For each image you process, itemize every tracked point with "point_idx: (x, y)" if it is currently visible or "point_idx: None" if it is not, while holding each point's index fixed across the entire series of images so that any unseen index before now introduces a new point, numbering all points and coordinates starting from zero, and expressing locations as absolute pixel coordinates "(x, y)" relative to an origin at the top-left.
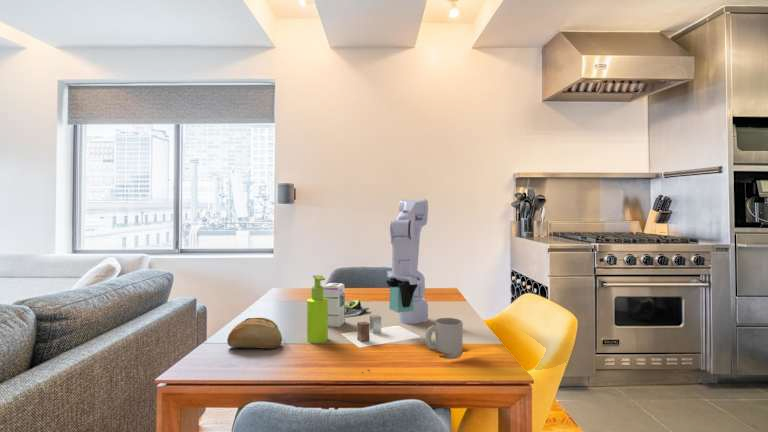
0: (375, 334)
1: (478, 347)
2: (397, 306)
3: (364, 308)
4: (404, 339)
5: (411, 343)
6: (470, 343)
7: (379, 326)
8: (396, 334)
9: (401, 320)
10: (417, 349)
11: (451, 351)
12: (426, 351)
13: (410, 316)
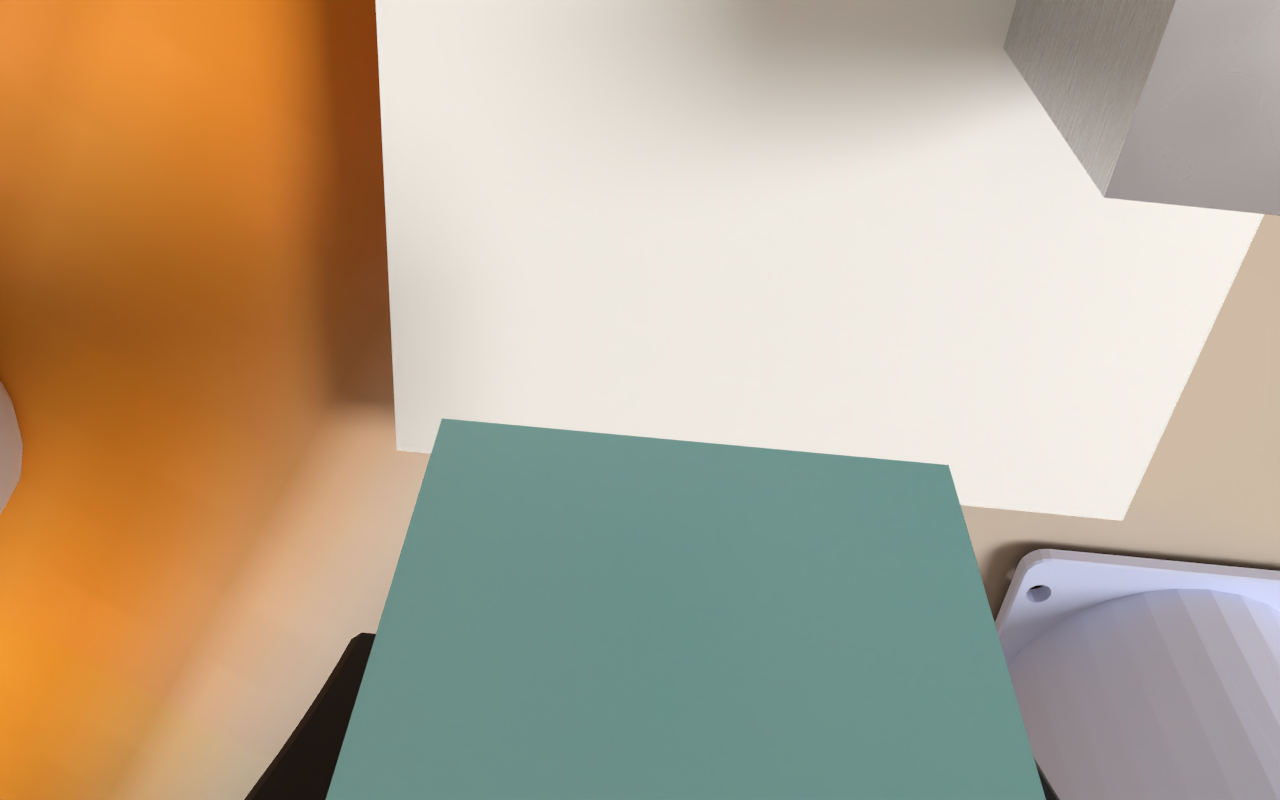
0: None
1: (14, 733)
2: (445, 538)
3: None
4: (415, 187)
5: None
6: (160, 751)
7: (1050, 58)
8: (731, 232)
9: (1204, 647)
10: (154, 187)
11: None
12: (31, 240)
13: (1071, 767)
